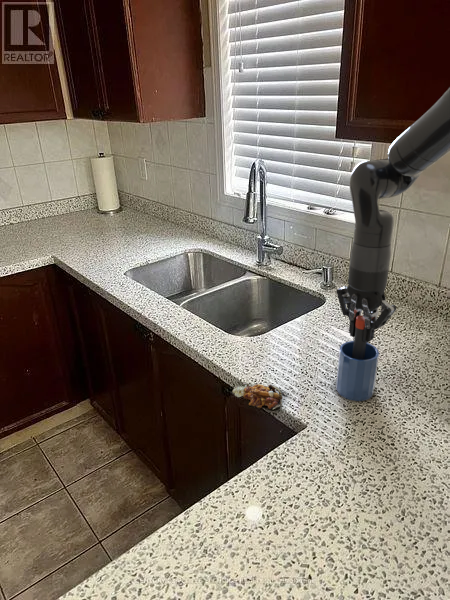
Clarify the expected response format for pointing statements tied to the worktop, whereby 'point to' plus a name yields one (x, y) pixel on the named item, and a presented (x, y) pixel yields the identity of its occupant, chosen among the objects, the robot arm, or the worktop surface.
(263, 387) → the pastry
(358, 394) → the vase
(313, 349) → the worktop surface
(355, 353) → the marker
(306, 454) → the worktop surface
